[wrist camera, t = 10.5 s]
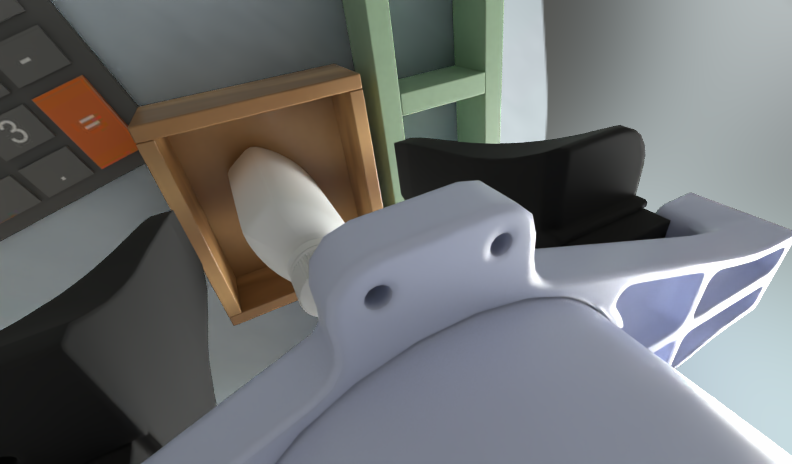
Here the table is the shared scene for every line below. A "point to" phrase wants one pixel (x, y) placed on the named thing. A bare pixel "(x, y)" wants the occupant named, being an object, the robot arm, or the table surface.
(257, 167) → the eye dropper bottle
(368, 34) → the green divided tray
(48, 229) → the table surface
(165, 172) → the open wooden box
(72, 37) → the calculator
